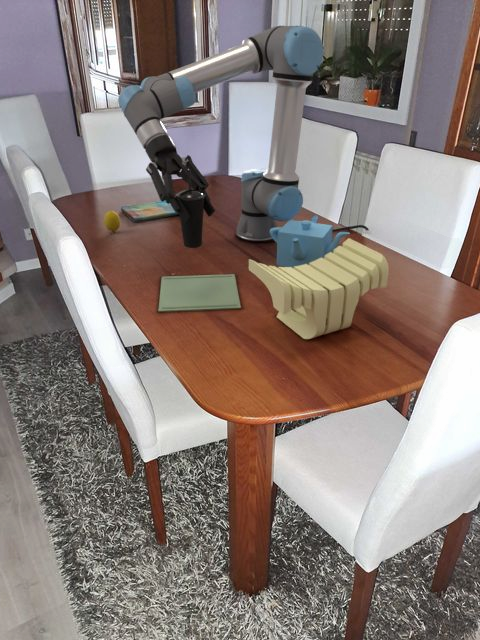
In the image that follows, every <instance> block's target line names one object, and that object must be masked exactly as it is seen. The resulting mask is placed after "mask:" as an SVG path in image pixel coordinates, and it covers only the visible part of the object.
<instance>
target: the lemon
mask: <svg viewBox="0 0 480 640" xmlns="http://www.w3.org/2000/svg"><path fill="white" fill-rule="evenodd" d="M103 220H104V226H105V228H106V229H107V230H108V231H110V232H112V233H115V232H116V231H118V230H119V229H120V227H121V218H120V216H119V213H117V212H115V211H113V210H109V211H108V212H106V213H105V214H104V219H103Z"/></svg>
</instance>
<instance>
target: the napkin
mask: <svg viewBox="0 0 480 640" xmlns="http://www.w3.org/2000/svg"><path fill="white" fill-rule="evenodd" d="M159 289H160V291H159V300H158V309H157V310H158V313H171V312H173V313H174V312H194V311H196V312H197V311H222V310H240V309H242V306H241V301H240V295H239V290H238V286H237V279H236V274H235V273H231V274H230V273H228V274H202V275H201V274H199V275H198V274H197V275H174V276H173V275H172V276H170V275H169V276H161V279H160V288H159Z"/></svg>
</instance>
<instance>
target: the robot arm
mask: <svg viewBox="0 0 480 640" xmlns="http://www.w3.org/2000/svg"><path fill="white" fill-rule="evenodd" d="M323 59H324V46H323V40H322V38H321V37H320V36H319V33H318V32H317V31H316V30H314V29H313V28H311V27H308V26H305V25H304V26H303V25H277V26H273V27H269V28H268V29H265V30H263V31H260V32H259V33H257V34H253V35H252V36H250V37H246V38H244V40H242V44H240V45H237V46H234V47H232V48H229V49H226V50H224V51H221V52H218V53H216V54H215V53H214V54H213V55H210V56H208V57H205V58H202V59H200V60H197V61H194V62H192V63H189V64H186V65H184V66H182V67H179V68H176V69H173V70H171V71H168V72H166V73H163V74H160V75H157V76H155V75H152V76H147V77H145V78H144V79H143V80H142V81H141V83H140V85H138V84H135V85H133V84H131V85H129V86H126V87H125V88H124V89H123V90H122V91H121V92H120V93H119V95H118V98H117V102H118V105H119V107H120V109H121V112H122V113H123V116H124V118H125V119H126V120H127V122H128V124H129V125H130V127H131V128H132V130H133V132H134V134H135V135H136V137H137V139H138V141H139V143H140V145H141V147H142V148H143V149H144V150H145V151H144V152H145V153H146V155H147V156H148V158H149V159H150V162H149V163H148V165H147V167H146V168H145V171H146V172H147V173H148V175H149V176H150V179H151V181H152V183H153V186H154V189H155V190H156V193H157V195H158V198H159V201H166V203H167V204H171V206H172V207H173V209H174V211H175V212H178V214H179V215H178V216H179V218H180V217H181V219H182V221H183V223H184V224H185V223H187V222H188V221H189V219H190V218H191V217H190V215H189V214H188V212H187V210H186V208H185V207H184V205H183V203H182V201H181V200H180V198H179V196H176V194H175V188H174V183H173V177H172V175H173V176H174V175H175V176H176V177H178V178H181V179H182V180H183V181H184V182H185V183H186V184H187V185H188V186H189V184H188V170H189V169H190V171H191V189H192V190H197V191H200V192H202V193H204V194H205V198H204V209H203V211H205V213H206V215H207V217H211V216H212V215H213V214H214V213H215V212H216V210H215V208H214V206H213V204H212V203H211V197H210V196H209V195H208V192H207V189H208V187H209V186H210V185H209V182H208V181H207V180H206V178H205V177H204V175H203V174H202V172H200V170H199V168H197V166H196V164H195V163H194V162H193V159H192V157H191V155H188V154H187V155H186V157H184V156H183V157H182V156H181V154H179V153H178V152H177V147H176V145H175V143H174V140H172V138H171V136H169V133H168V131H167V128H166V127H165V126H164V124H163V122H162V120H163V119H165V118H167V117H170V116H172V115H174V114H176V113H179V112H181V111H183V110H184V111H186V110H187V109H188V108H190V107H192V106H193V105H195V103H196V93H199V92H201V91H204V90H206V89H209V88H212V87H216V86H217V85H220V84H222V83H225V82H227V81H230V80H233V79H235V78H238V77H240V76H242V75H246V74H248V73H251V74H253V75H256V74H258V73H261V72H265V71H266V72H267V71H272V80H273V82H274V83H275V85H276V90H275V98H274V99H275V101H274V111H273V121H272V130H271V139H270V140H271V141H270V148H269V149H270V150H269V159H268V168H254V169H248V170H244V171H243V172H242V174H241V180H240V186H241V188H240V189H241V193H240V194H241V195H240V196H241V198H240V199H241V200H240V201H241V205H240V207H241V208H240V209H241V215H240V218H239V221H238V224H237V227H236V230H235V231H236V233H235V234H236V238H238V239H239V240H241V241H243V242H246V243H247V242H248V243H255V244H257V243H258V244H260V243H269V242H273V241H274V240H273V238H272V237H271V235H270V229H272V228H274V227H279V226H278V223H277V221H278V222H288V221H289V220H293V219H294V218H295V217H296V216H297V215H298V214H299V213H300V211H301V209H302V207H303V204H304V196H303V193H302V191H301V190H300V189H299V184H300V176H299V175H298V174H297V172H296V168H297V162H298V154H299V145H300V138H301V132H302V131H301V129H302V124H303V123H302V122H303V115H304V104H305V99H306V91H307V88H308V86H310V85H311V84H312V83H313V77H314V73H316V71H318V68H320V66H321V64H322V62H323ZM160 173H161V174H160ZM344 227H345V228H344ZM361 228H362V229H364V230H365V231H369V227H367V226H366V225H364V224H357V225H350V226H349V225H348V226H343V227H339V228H333V230H332V233H336V232H342V231H345V230H353V229H361ZM277 235H278V232H277Z"/></svg>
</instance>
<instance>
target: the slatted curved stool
mask: <svg viewBox="0 0 480 640" xmlns="http://www.w3.org/2000/svg"><path fill="white" fill-rule="evenodd" d="M248 271H250V272H251V274H253V275H254V276H256V277H257V278H258V279H259V280H260V282H262V283H263V284H264V286H265V287H266V288H267V290H268V292H269V293H270V296H271V301H272V307H273V308H274V309H275V310H276V311H278V313H277V315H276V318H277V319H278V320H279V321H281V322H282V323H284V325H285V326H287V327H288V328H290V329H291V330H292V331H293V332H294V333H296V334H297V335H298V336H300V337H301V338H302V339H303V340H310V339H313V338H317V337H321V336H322V335H323V336H324V335H327V334H331V333H334V332H337V331H340V330H344V329H347V328H350V327H351V325H352V323H353V317H354V314H355V312H356V309H357V306H358V303H359V301H360V296H364V295H365V294H366V293H367V292H369V290H374V289H377V288H387V285H388V279H389V272H390V267H389V263H388V260H387V259H386V257H385V256H384V254H382V253H381V252H378V251H376V250H374V249H372V248H371V247H369V246H365V245H364V244H362V243H360V242H358V241H356V240H353V239H352V238H351V237H348V238H347V239H346V240H344V241H343V242H342V245H338V246H337V248H335V249H334V250H333V253H332V252H330V253H328V254H326V255H325V256H324V259H323V258H322V257H321V258H319V259H317V260H315V261H312V262H310V263H309V265H307V264H304V265H300V266H294V269H293V268H292V267H285V266H275V265H270V264H269V265H267V264H265V263H262V262H257V261H256V260H253V259H250V258H248Z"/></svg>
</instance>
